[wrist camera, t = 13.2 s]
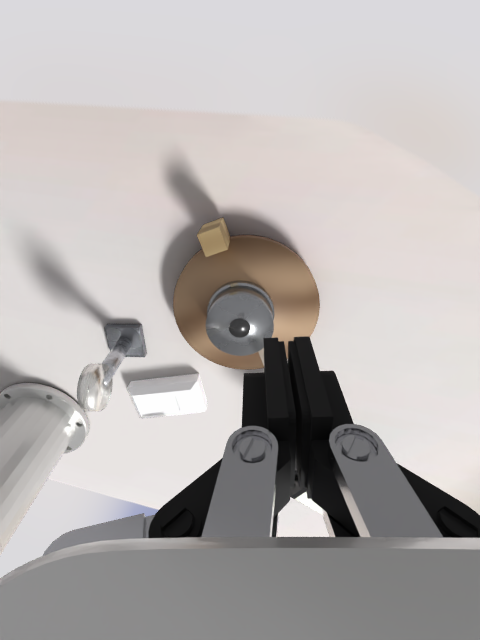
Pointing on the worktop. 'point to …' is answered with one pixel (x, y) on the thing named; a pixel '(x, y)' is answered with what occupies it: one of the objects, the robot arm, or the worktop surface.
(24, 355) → the worktop surface
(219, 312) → the cover
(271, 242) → the turntable
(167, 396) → the white switch plate
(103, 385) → the gauge post
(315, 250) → the worktop surface
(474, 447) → the worktop surface
